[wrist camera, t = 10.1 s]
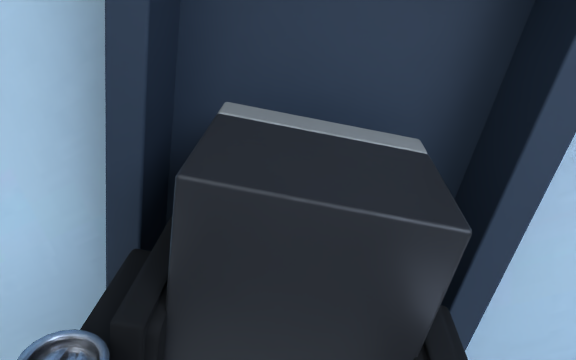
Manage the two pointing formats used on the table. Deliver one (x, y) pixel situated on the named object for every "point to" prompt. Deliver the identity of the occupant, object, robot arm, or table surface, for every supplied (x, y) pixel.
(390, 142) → the eraser
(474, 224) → the tray
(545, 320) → the table surface
